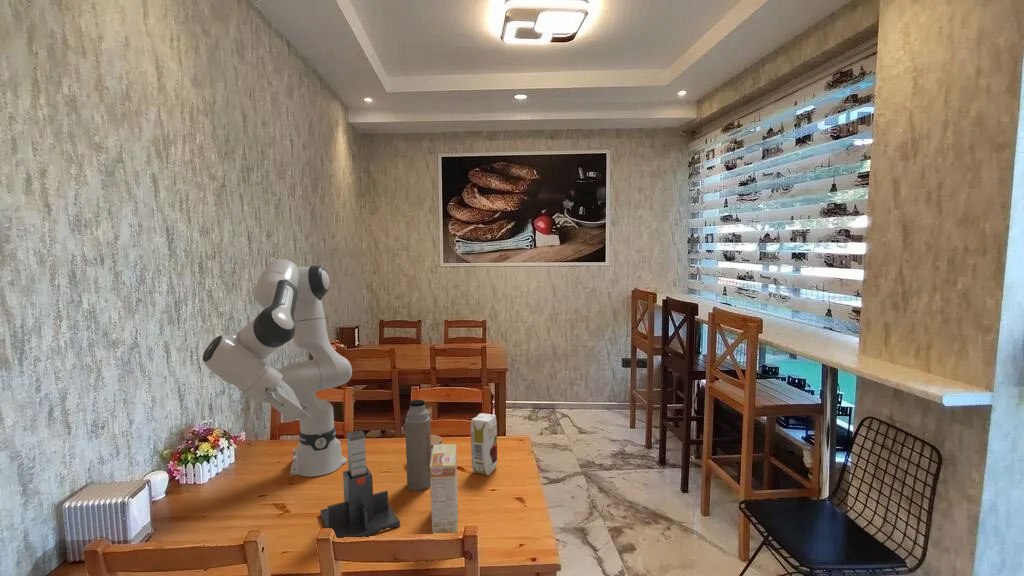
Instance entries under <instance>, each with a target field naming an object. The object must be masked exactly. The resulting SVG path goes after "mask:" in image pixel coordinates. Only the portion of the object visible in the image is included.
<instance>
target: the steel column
mask: <svg viewBox="0 0 1024 576" xmlns="http://www.w3.org/2000/svg"><path fill="white" fill-rule="evenodd" d="M346 442H347V464H348V465H347V466H348V470H349V477H350V479H353V478H357V477H361V476H365V475H366V466H367V459H366V458H367V457H366V456H367V455H366V434H365V433H364V431H363V430H356V431H352V432H351V431H350V432H347V433H346Z"/></svg>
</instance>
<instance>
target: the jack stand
mask: <svg viewBox="0 0 1024 576" xmlns="http://www.w3.org/2000/svg"><path fill="white" fill-rule="evenodd" d="M342 481H343V500H344V501H342V502H338V503H334V504H331V505H328V506H327V508H323V509H320V510H319V512H320V516H321V517H320V518H321V520H322V519H323V520H322V522H323V521H324V523H323V525H324V524H325V525H324V527H326V528H332V529H333V530H334V532H335V534H336V537H337V538H344V537H363V536H367V537H370V536H373V535H376V533H377V534H379V533H378V532H379V531H381V530H385V529H387V528H393V527H396V528H398V526H399V527H400V526H401V520H400V519H399V518H398V516H397V514H396V513H395V512H394V510H393V509H392V507H391V505H390V504H389V492H388V490H383V491H379V492H376V493H374V487H373V474H372V472H370V469H369V468H368V466H367V465H366V475H365V476H361V477H357V478H353V479H350V477H349V469H348V470H344V471H342ZM326 528H325V529H326ZM393 529H394V528H393Z"/></svg>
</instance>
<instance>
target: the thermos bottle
mask: <svg viewBox="0 0 1024 576" xmlns="http://www.w3.org/2000/svg"><path fill="white" fill-rule="evenodd" d="M425 402H426V401H425V400H423V399H414V400H410V401H409V402H408V403H409V404H408V405H409V410H408V411H407V412H406V418H405V419H404V422H405V423H404V425H405V426H404V428H405V456H406V486H407V488H408V490H411V491H414V492H415V491H416V492H419V491H424V490H425V491H426V490H427V489H429V488H431V484H430V462H431V435H432V434H431V417H430V416H429V411H428V409H426V405H425Z"/></svg>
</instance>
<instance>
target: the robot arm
mask: <svg viewBox="0 0 1024 576" xmlns="http://www.w3.org/2000/svg"><path fill="white" fill-rule="evenodd" d="M254 286H255V287H254V290H253V297H254V300H255V302H256V303H257V304H258V305H259V306H260V307H261V308H263V310H262V311H260V313H259V314H258V315H257V316H256V317H255V318H253V319H252V320H251V321H250V322H249V323H247V324H246V325H245V326H244V327H243V328H241V329H240V330H239V331H236V332H234V333H232V334H229V335H224V334H223V335H222V334H221V335H219V336H217V337H215V338H214V339H212V341H211V342H210V343H209V344H208V346H207V347H206V349H205V350H204V351H203V355H202V362H203V363H204V365H205V366H206V367H207V369H209V370H210V371H211V372H212V373H213V374H214V375H216V376H217V377H218V378H220V379H222V381H224V382H226V383H228V384H230V385H233V386H235V387H236V388H237V389H238V390H239V391H240V392H241V393H242V394H243V395H245V396H246V397H247V398H249V399H251V400H253V402H255V403H256V404H260V403H262V402H265V403H267V404H268V403H269V405H270V406H271V407H272V408H274V409H275V410H276V411H277V412H279V413H280V414H281V415H283V416H284V417H286V418H287V419H289V420H291V421H295V420H296V419H299V424H300V425H299V427H300V428H299V429H300V430H299V432H298V433H299V435H298V439H299V440H298V441H299V443H298V444H297V445H298V446H297V447H296V448H294V449H292V455H293V458H292V462H291V466H290V475H291V476H301V477H309V478H312V477H319V476H325V475H328V474H330V473H333V472H335V471H338V469H339V468H340V467H341V466H343V465H345V464H346V463H348V458H346V457H345V456H343V455H342V453H343V452H342V444H341V440H339V439H338V438H337V437H336V436H337V435H336V433H337V430H336V426H335V422H334V421H335V419H334V418H335V417H334V416H335V414H334V407H333V405H332V404H331V403H330V402H329V401H328V400H325V399H322V398H317V392H320V391H323V390H324V391H325V390H328V389H332V388H333V389H334V388H337V387H339V386H343V385H344V384H346V383H348V382H349V381H350V380H351V378H352V375H353V368H352V364H351V363H350V361H349V360H348V359H347V358H346V357H344V356H343V355H341V354H340V353H338V352H337V351H336V350H335V348H334V347H333V346H332V344H331V342H330V339H329V336H328V329H327V323H326V317H325V315H326V314H325V311H324V306H323V302H322V300H323V297H324V296H325V295H326V294H327V293H328V291H329V288H330V277H329V275H328V271H327V270H326V269H325V268H323V266H319V265H310V266H297V265H296V264H295V263H294V262H293V261H291V260H289V259H286V258H277V259H274V260H273V261H271V262H270V263H269V264H268V265H267V266H266V267H265V269H264V270H263V271H262V273H261V274H260V276H259V278H258V280H257V281H256V284H255V285H254ZM291 340H293V343H294V345H295V346H296V347H297V348H298V349H300V350H303V351H306V352H309V353H310V355H311V356H312V359H311V360H304V361H297V362H293V363H289V364H287V365H285V366H281V367H280V368H279V369H278V370H277V369H275V368H274V367H273V366H271V365H270V364H268V363H267V362H264V360H266V358H267V357H269V356H270V355H271V354H273V353H274V352H275V351H276V350H277V349H279V348H280V347H282V346H283V345H285V344H286V343H288V342H290V341H291Z"/></svg>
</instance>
